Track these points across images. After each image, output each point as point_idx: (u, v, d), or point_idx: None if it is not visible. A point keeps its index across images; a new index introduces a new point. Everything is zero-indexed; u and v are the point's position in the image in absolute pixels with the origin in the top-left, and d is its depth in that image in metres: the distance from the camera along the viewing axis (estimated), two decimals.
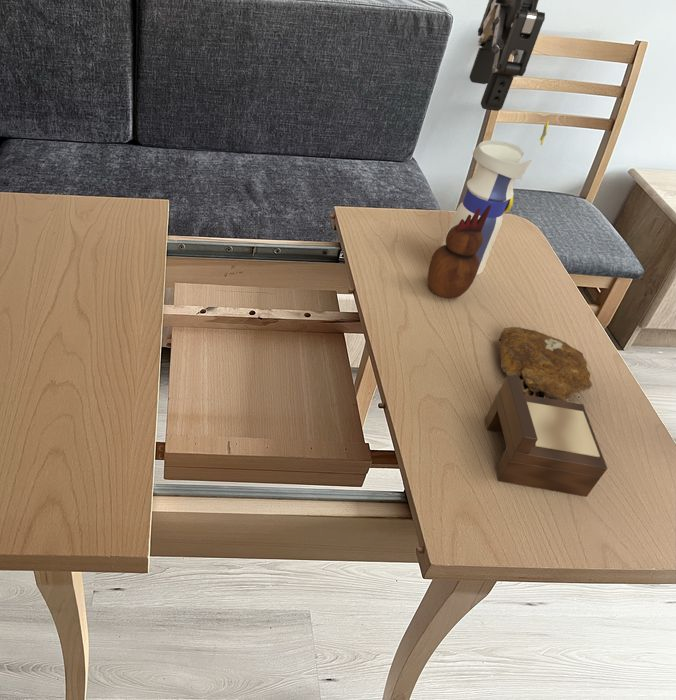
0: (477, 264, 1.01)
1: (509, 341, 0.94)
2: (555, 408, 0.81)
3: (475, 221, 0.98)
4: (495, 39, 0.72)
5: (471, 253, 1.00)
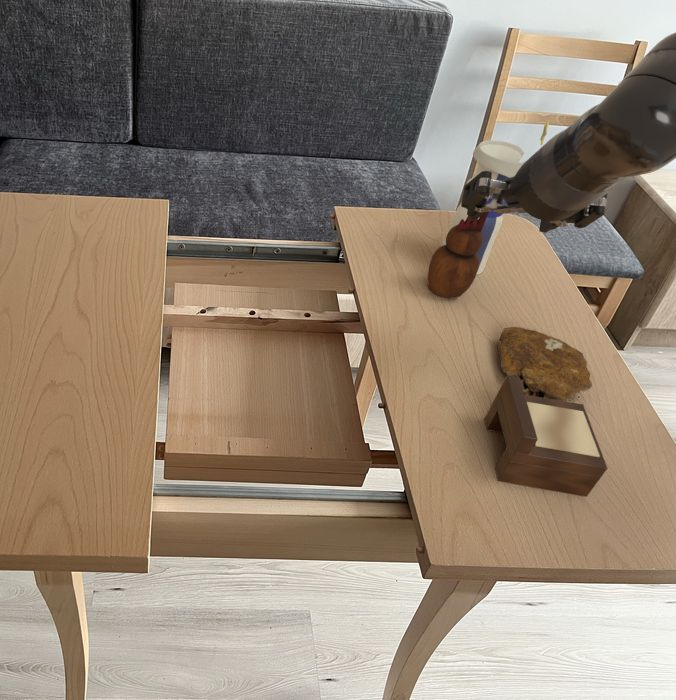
0: (477, 264, 1.01)
1: (509, 341, 0.94)
2: (555, 408, 0.81)
3: (475, 221, 0.98)
4: None
5: (471, 253, 1.00)
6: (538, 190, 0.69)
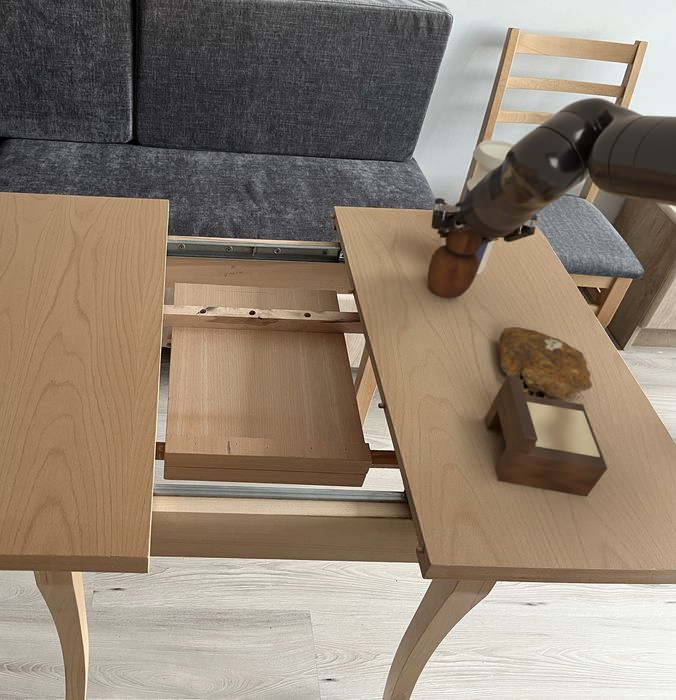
0: (477, 264, 1.01)
1: (509, 341, 0.94)
2: (555, 408, 0.81)
3: None
4: None
5: (471, 253, 1.00)
6: (479, 214, 0.85)
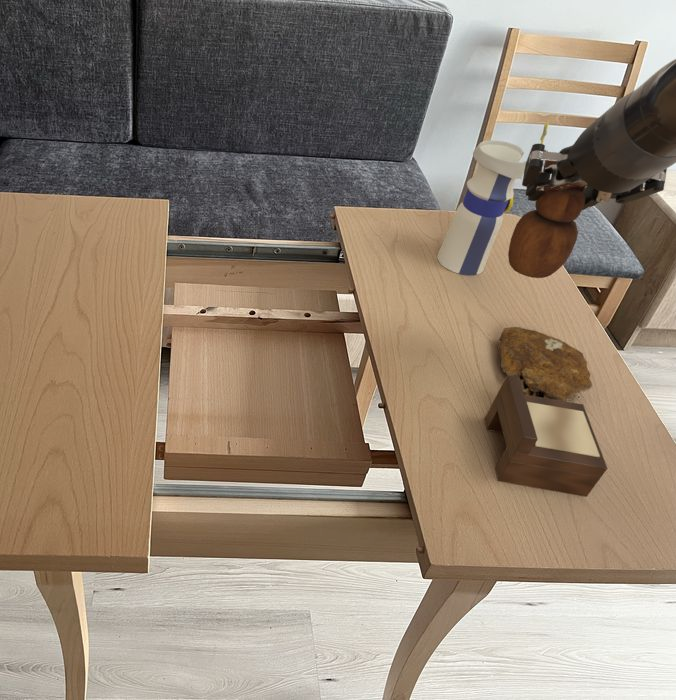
0: (576, 234, 0.80)
1: (509, 341, 0.94)
2: (555, 408, 0.81)
3: None
4: None
5: (570, 219, 0.78)
6: (603, 157, 0.64)
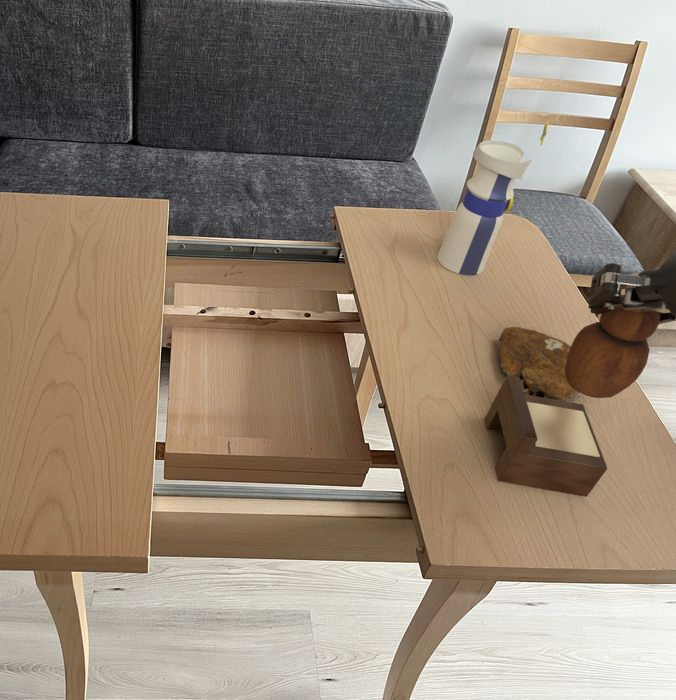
0: (648, 353, 0.69)
1: (509, 341, 0.94)
2: (555, 408, 0.81)
3: None
4: (638, 273, 0.63)
5: (643, 339, 0.67)
6: None
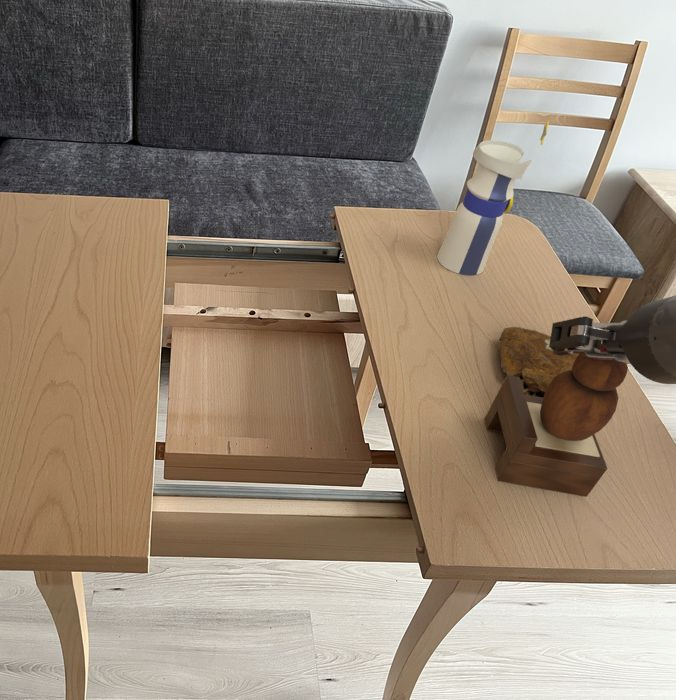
0: (616, 401, 0.73)
1: (509, 341, 0.94)
2: None
3: None
4: (601, 323, 0.67)
5: (611, 389, 0.71)
6: (662, 359, 0.56)
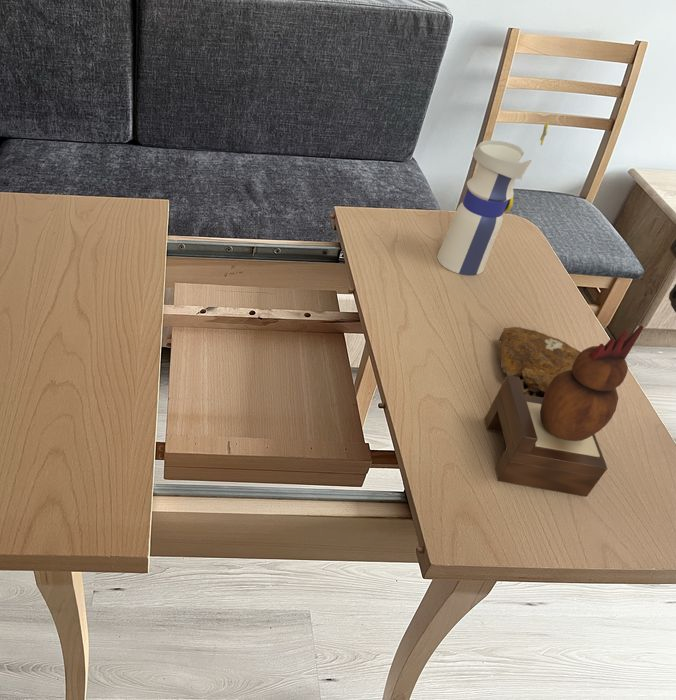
0: (616, 401, 0.73)
1: (509, 341, 0.94)
2: None
3: (619, 346, 0.70)
4: None
5: (611, 389, 0.71)
6: None
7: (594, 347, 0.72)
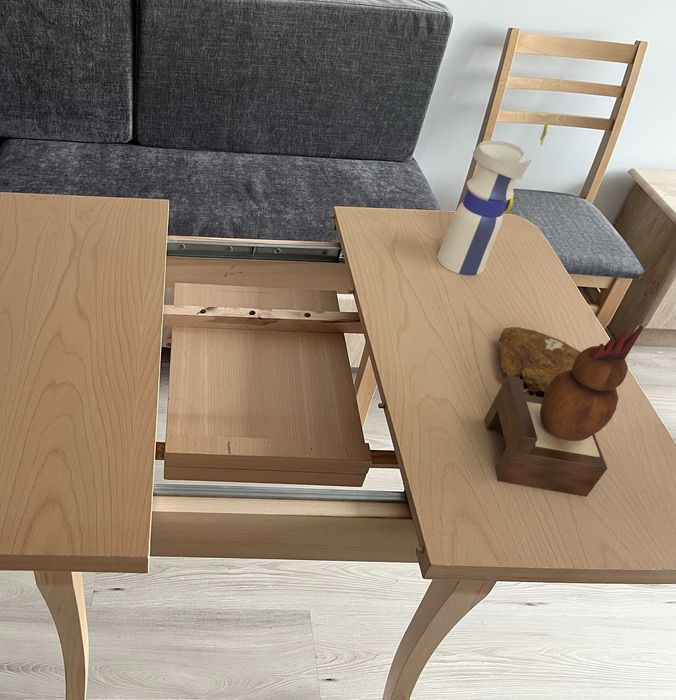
0: (616, 401, 0.73)
1: (509, 341, 0.94)
2: None
3: (619, 346, 0.70)
4: None
5: (611, 389, 0.71)
6: None
7: (594, 347, 0.72)
